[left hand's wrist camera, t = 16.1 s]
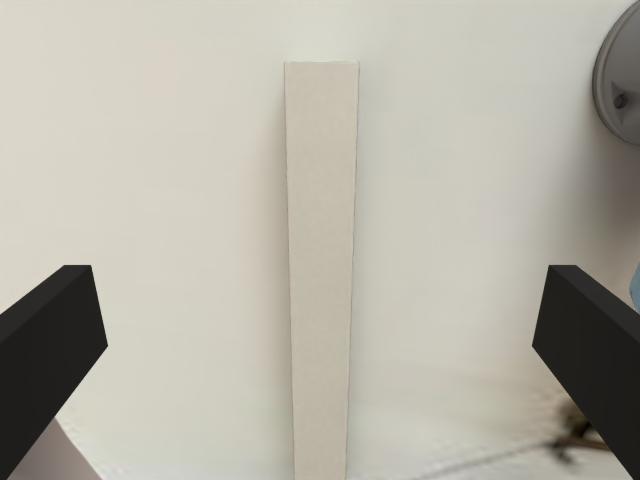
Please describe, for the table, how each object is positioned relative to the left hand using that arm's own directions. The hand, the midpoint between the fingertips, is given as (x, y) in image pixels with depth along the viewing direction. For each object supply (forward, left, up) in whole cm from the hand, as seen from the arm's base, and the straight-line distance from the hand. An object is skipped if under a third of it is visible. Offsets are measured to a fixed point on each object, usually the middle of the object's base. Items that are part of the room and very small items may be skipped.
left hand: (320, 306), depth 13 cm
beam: (-6, +20, -35) cm, 41 cm away
